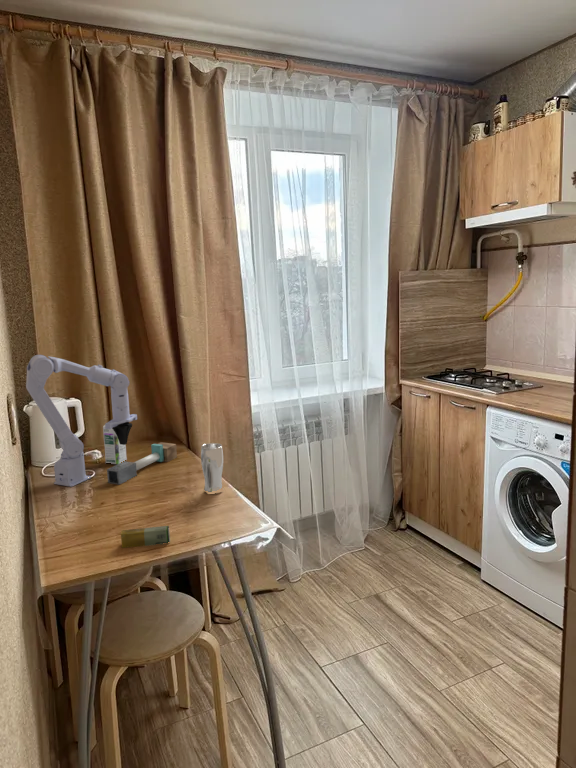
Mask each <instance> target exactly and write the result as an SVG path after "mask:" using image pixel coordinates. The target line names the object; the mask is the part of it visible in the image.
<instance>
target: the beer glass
mask: <svg viewBox="0 0 576 768" xmlns="http://www.w3.org/2000/svg"><path fill="white" fill-rule="evenodd" d="M200 462H201V468H202V473H203V477H204V488H203V491H204V490H205V491H208V492H212V491H217V490H219V489H221V488H222V486H223V481H222V479H223V478H222V477H223V469H224V451H223V444H221V443H217V442H209V443H204V444H202V445H201V446H200Z"/></svg>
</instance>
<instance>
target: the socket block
mask: <svg viewBox="0 0 576 768" xmlns="http://www.w3.org/2000/svg"><path fill="white" fill-rule="evenodd" d="M158 444H161V445H163V450H164V461H163V462H164V463H165V462H166V463H169V462H170V461H172V460H174V459H176V458H178V453H177V444H176V443H171V442H169V443H168V442H161V441H160V442H158Z"/></svg>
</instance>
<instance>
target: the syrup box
mask: <svg viewBox="0 0 576 768" xmlns="http://www.w3.org/2000/svg"><path fill="white" fill-rule="evenodd" d="M102 430H103V431H102V433H103V442H104V443H103V444H104V454H105V455H104V458H105V464H106V463H111V465H117V464H120V463H121V462H123V461H125V460H126V461H127V460H128V457H127V446H126V445H127V444H125V445H122V444H120V443H119V440H118V437H117V435H116V433H115V432H114V430H113V429H105V424H104V425H103V426H102Z"/></svg>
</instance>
